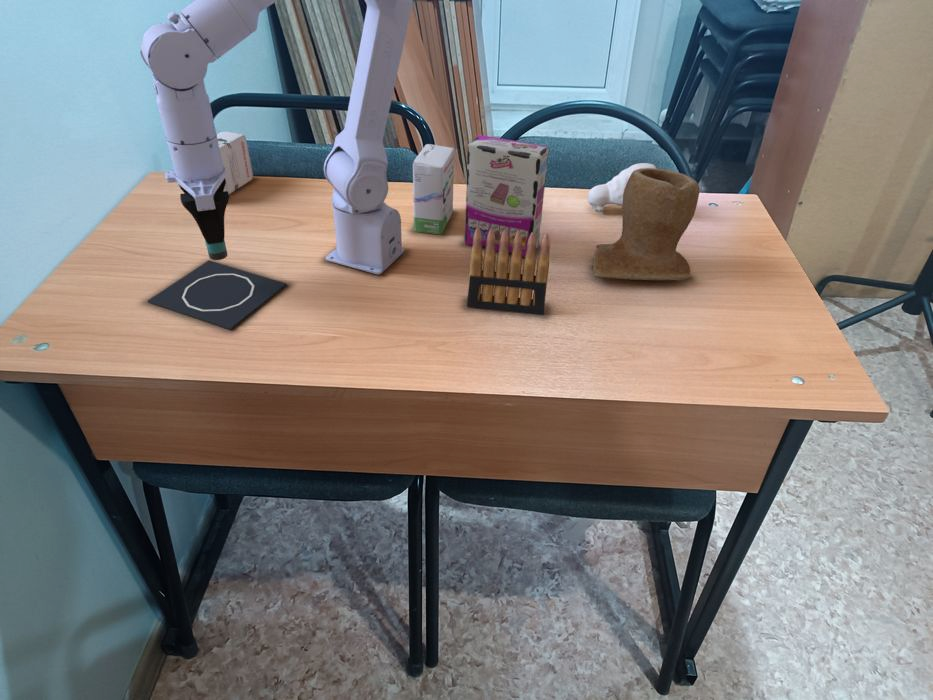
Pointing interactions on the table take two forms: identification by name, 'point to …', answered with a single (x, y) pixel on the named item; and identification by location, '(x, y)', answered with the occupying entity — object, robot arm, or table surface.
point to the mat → (218, 294)
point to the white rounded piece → (613, 188)
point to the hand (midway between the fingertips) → (214, 236)
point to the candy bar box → (505, 189)
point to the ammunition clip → (508, 275)
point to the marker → (217, 251)
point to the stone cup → (650, 228)
